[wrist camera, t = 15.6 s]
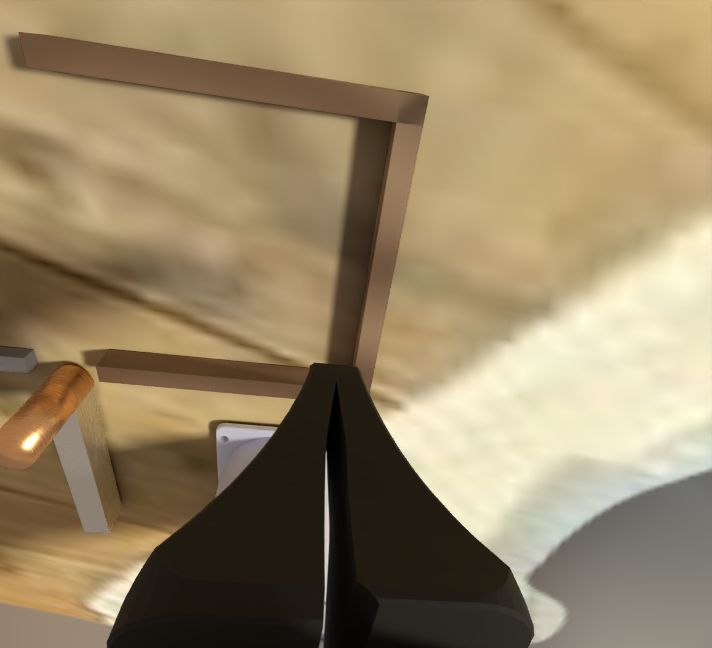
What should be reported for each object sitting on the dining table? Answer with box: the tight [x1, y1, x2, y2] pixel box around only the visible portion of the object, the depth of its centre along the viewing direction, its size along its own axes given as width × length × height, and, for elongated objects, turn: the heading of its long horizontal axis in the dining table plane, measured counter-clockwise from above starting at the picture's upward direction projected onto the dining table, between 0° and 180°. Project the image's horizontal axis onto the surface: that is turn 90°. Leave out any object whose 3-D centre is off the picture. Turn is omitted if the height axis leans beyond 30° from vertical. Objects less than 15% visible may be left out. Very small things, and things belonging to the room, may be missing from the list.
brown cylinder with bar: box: [0, 365, 122, 534], centre depth 24 cm, size 12×2×5 cm, turn 172°
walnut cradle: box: [19, 32, 429, 399], centre depth 19 cm, size 15×14×2 cm
